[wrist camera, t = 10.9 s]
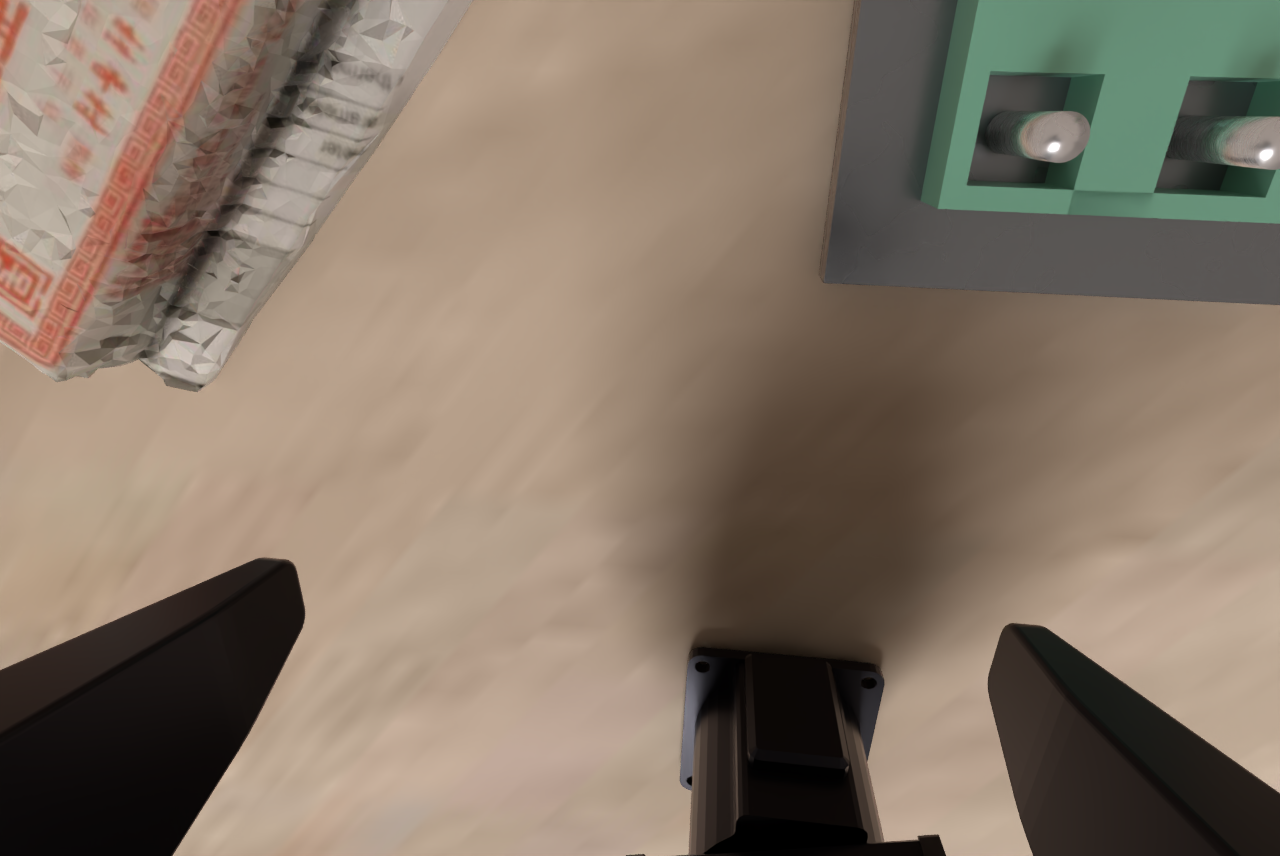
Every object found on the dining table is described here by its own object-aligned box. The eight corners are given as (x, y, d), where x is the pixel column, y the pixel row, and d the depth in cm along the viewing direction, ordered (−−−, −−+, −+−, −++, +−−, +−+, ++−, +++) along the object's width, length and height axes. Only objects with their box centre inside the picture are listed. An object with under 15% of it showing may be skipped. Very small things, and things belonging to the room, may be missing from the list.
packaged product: (104, 456, 18) (-278, 182, 16) (225, 389, 23) (-65, 167, 21) (523, -238, 12) (-41, -844, 10) (579, -142, 16) (200, -545, 14)
